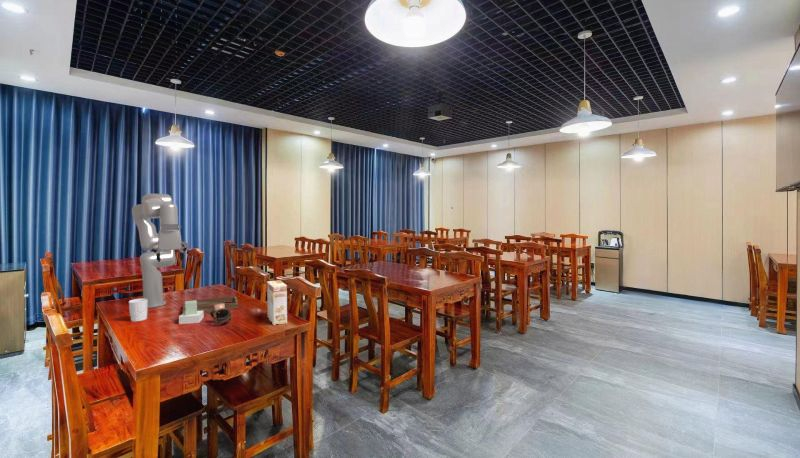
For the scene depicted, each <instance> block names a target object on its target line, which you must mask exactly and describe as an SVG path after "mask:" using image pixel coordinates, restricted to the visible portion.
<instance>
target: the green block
mask: <svg viewBox="0 0 800 458" xmlns="http://www.w3.org/2000/svg"><path fill="white" fill-rule="evenodd" d="M193 300H194V301H190V300H184V302H185V313H186V315H194V314H197V307H198V306H197V301H196V300H197V299H193Z"/></svg>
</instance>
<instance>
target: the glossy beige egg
mask: <svg viewBox="0 0 800 458" xmlns="http://www.w3.org/2000/svg"><path fill="white" fill-rule="evenodd" d="M225 304H226V303H219V304H213V305H214V310H215V311H217V310H218V309H222V308H225ZM218 313H220V312H218Z"/></svg>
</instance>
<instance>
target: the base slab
mask: <svg viewBox="0 0 800 458" xmlns="http://www.w3.org/2000/svg"><path fill="white" fill-rule="evenodd" d="M203 319H204V311H197V314H194V315H186V313H185V312H183V311H182V314H180V315H179V316H178V325H184V324H185V325H186V324H197V323H200V322H201V321H202V320H203Z"/></svg>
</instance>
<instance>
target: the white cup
mask: <svg viewBox="0 0 800 458" xmlns="http://www.w3.org/2000/svg"><path fill="white" fill-rule="evenodd" d="M148 309H149V308H148V299H145V298H134V299H131V300H129V301H128V310H129V316H130V321H131V322H140V321H141V322H142V321H145V320H147V319H148Z"/></svg>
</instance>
